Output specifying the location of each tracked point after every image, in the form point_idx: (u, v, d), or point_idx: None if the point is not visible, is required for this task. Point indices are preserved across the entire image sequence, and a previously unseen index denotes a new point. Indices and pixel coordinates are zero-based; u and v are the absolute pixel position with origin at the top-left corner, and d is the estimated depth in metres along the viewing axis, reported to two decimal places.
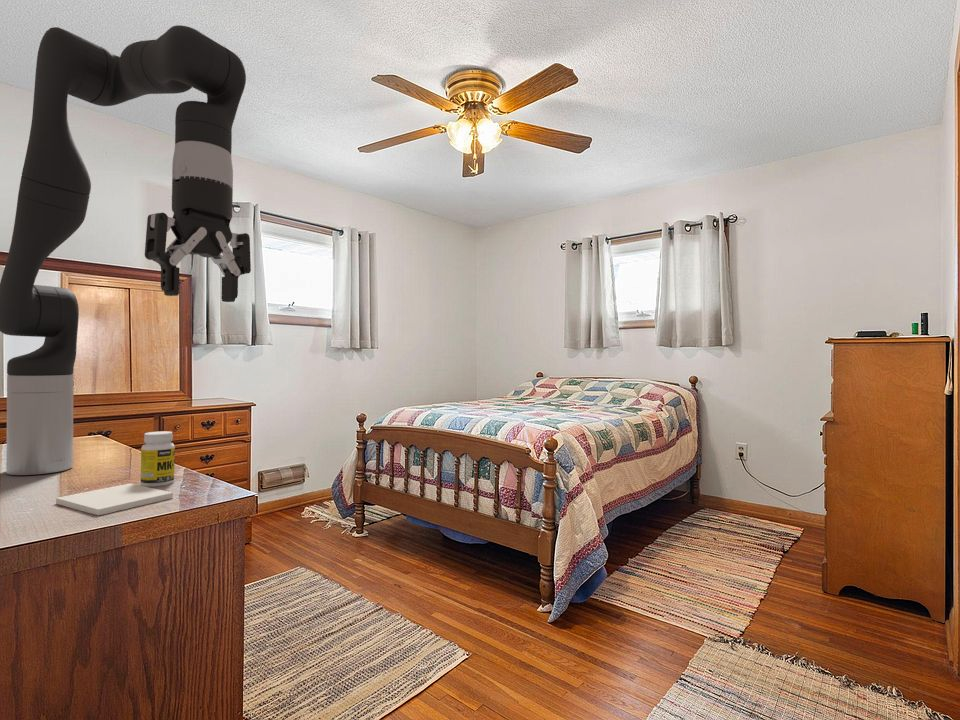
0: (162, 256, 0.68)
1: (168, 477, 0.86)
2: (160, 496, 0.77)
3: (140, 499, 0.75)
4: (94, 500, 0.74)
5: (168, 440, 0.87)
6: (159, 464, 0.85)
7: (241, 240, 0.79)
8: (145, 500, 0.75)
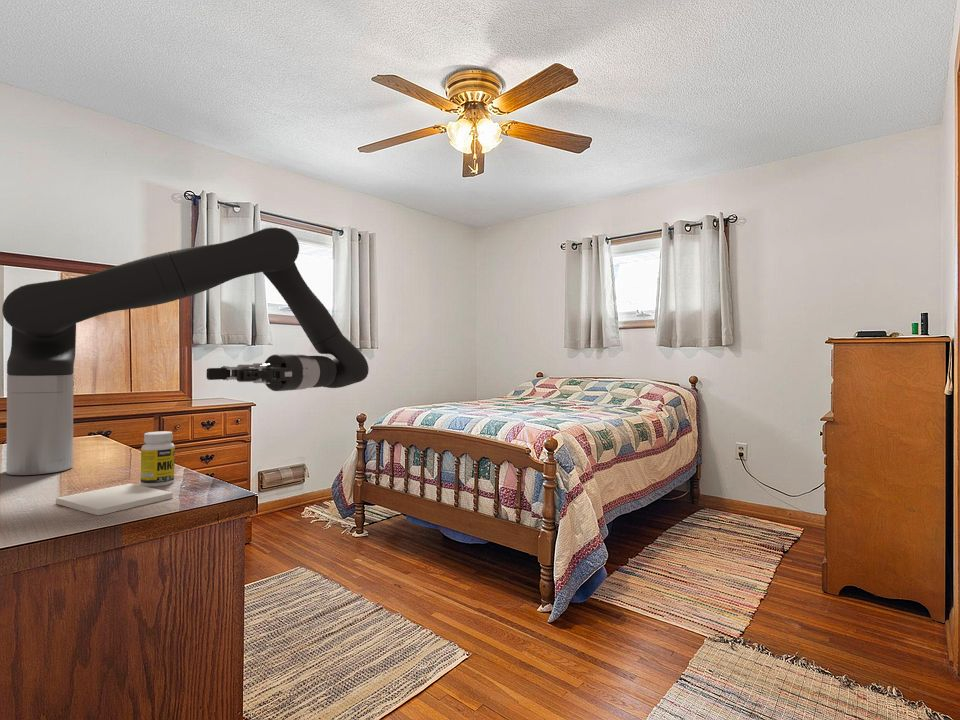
0: (267, 381, 0.98)
1: (168, 477, 0.86)
2: (160, 496, 0.77)
3: (140, 499, 0.75)
4: (94, 500, 0.74)
5: (168, 440, 0.87)
6: (159, 464, 0.85)
7: None
8: (145, 500, 0.75)
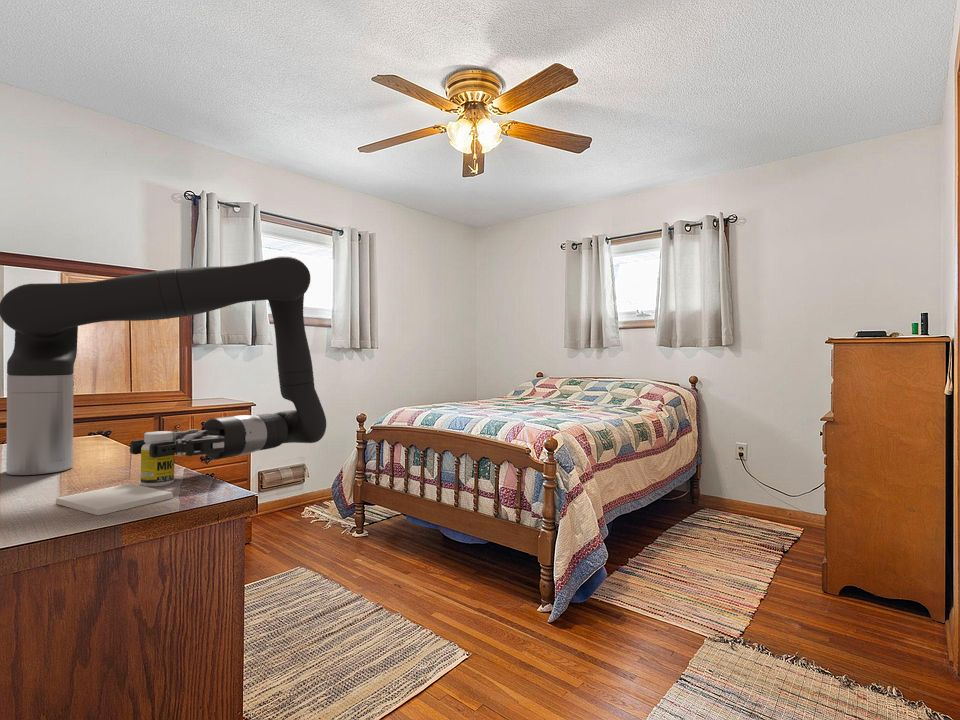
0: None
1: (168, 477, 0.86)
2: (160, 496, 0.77)
3: (140, 499, 0.75)
4: (94, 500, 0.74)
5: (168, 440, 0.87)
6: (159, 464, 0.85)
7: None
8: (145, 500, 0.75)
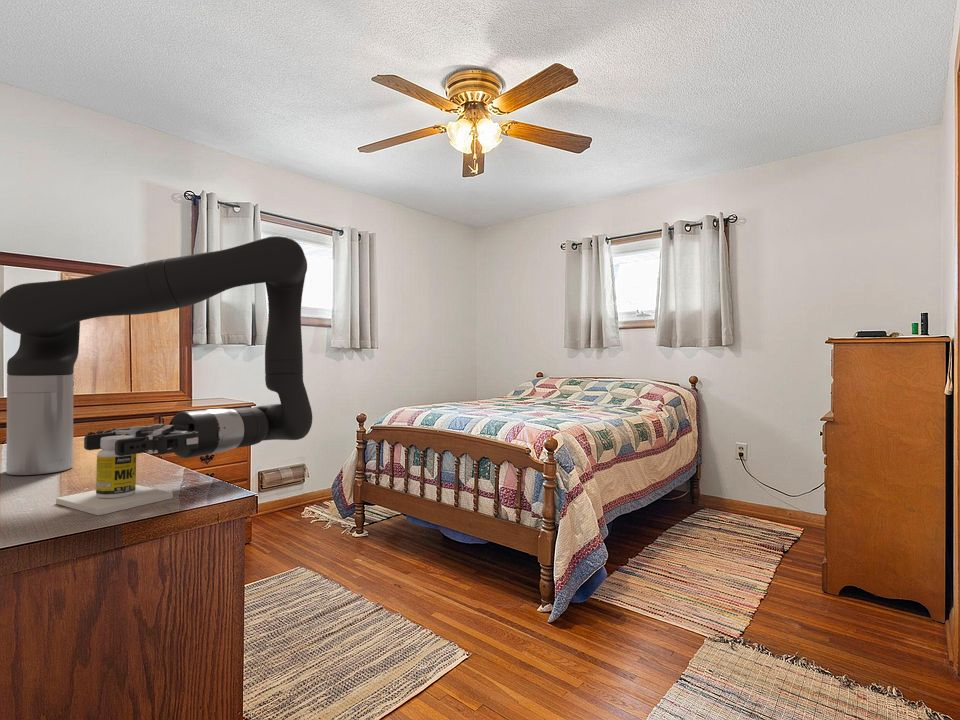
0: None
1: (128, 487, 0.76)
2: (160, 496, 0.77)
3: (140, 499, 0.75)
4: (94, 500, 0.74)
5: None
6: (117, 472, 0.75)
7: None
8: (145, 500, 0.75)
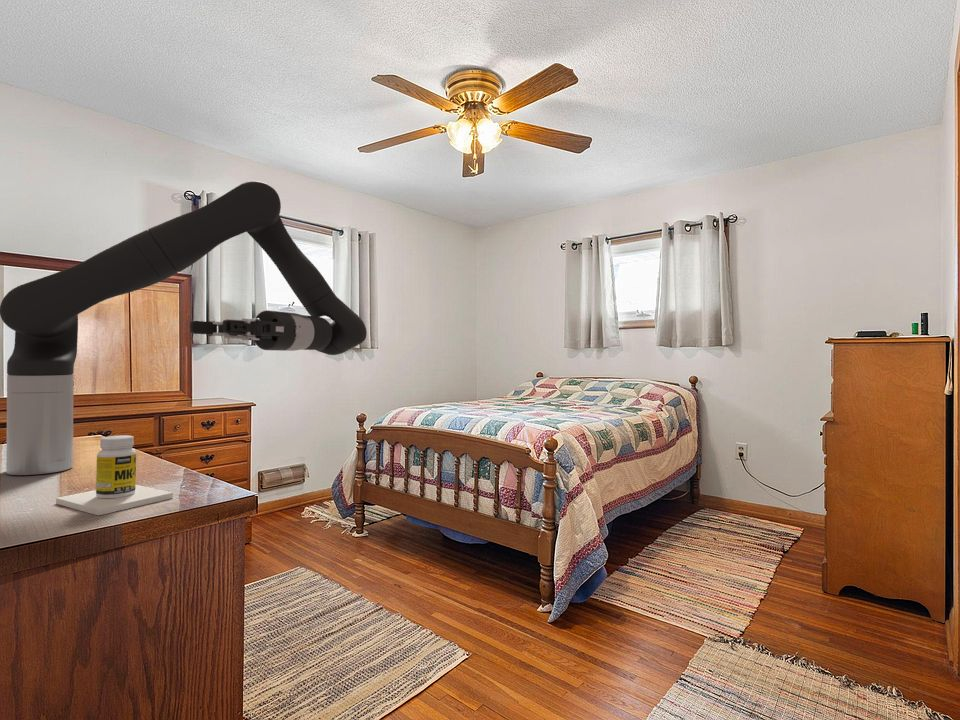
0: (256, 334, 0.90)
1: (128, 487, 0.76)
2: (160, 496, 0.77)
3: (140, 499, 0.75)
4: (94, 500, 0.74)
5: (128, 445, 0.76)
6: (117, 473, 0.75)
7: (233, 334, 1.00)
8: (145, 500, 0.75)
